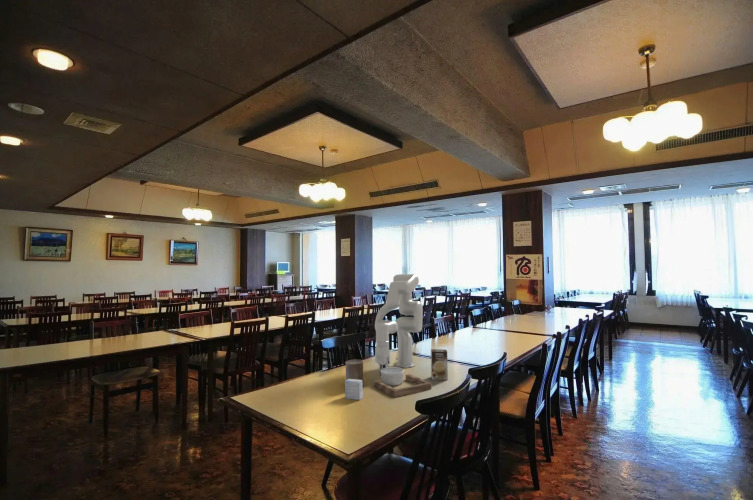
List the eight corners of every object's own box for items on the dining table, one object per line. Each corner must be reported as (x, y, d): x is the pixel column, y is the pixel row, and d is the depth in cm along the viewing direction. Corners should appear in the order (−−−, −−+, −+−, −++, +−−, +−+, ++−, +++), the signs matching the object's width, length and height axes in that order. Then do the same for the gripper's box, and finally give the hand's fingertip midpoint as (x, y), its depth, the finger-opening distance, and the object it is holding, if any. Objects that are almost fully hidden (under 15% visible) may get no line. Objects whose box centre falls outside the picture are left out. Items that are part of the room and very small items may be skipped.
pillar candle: (367, 386, 194) (366, 358, 195) (354, 391, 187) (353, 362, 188) (355, 383, 201) (354, 356, 202) (341, 387, 194) (341, 359, 195)
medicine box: (363, 397, 178) (362, 379, 178) (359, 400, 174) (359, 382, 174) (348, 395, 180) (348, 378, 181) (344, 399, 176) (344, 381, 177)
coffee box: (431, 380, 204) (431, 351, 205) (431, 376, 210) (430, 349, 211) (448, 380, 203) (447, 351, 204) (447, 376, 209) (446, 349, 210)
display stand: (374, 386, 195) (374, 380, 195) (408, 379, 206) (408, 373, 207) (395, 397, 177) (395, 391, 177) (431, 388, 189) (431, 383, 189)
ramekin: (396, 388, 191) (396, 374, 191) (375, 384, 198) (375, 371, 199) (408, 381, 202) (408, 368, 202) (388, 377, 209) (388, 365, 210)
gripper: (370, 342, 214) (371, 373, 213) (383, 346, 201) (384, 380, 200) (381, 341, 218) (382, 371, 217) (394, 345, 205) (395, 377, 204)
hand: (383, 375), depth 208 cm, fingers closed
